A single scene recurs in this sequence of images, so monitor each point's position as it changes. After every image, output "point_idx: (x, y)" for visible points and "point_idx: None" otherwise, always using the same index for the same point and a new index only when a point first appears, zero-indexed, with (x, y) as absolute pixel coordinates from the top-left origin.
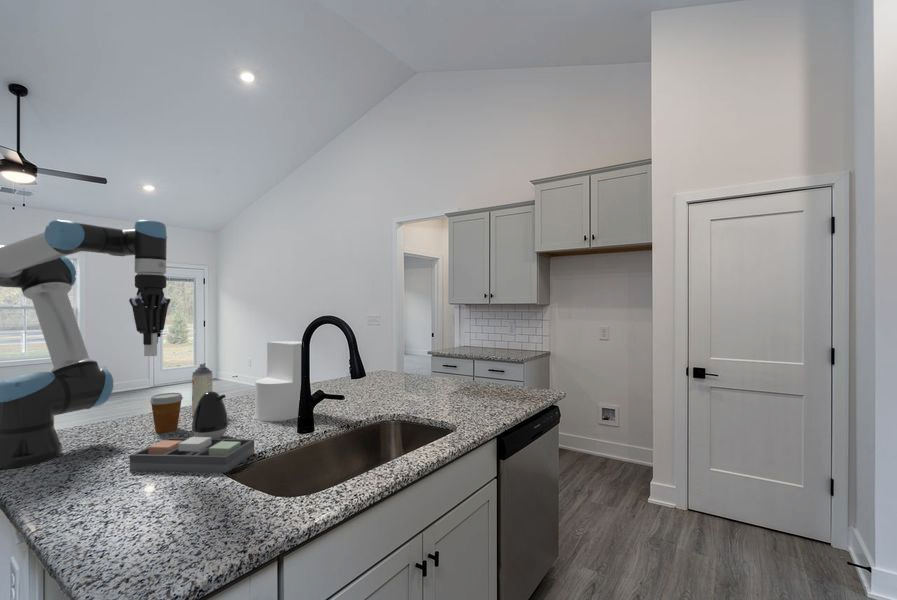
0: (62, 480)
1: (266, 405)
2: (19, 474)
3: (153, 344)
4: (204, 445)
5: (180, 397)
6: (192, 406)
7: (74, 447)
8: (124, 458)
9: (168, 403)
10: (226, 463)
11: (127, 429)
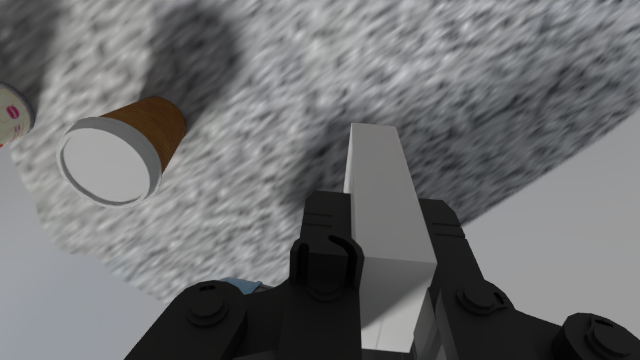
0: (511, 116)
1: None
2: None
3: (404, 177)
4: None
5: (87, 122)
6: (6, 141)
7: None
8: (383, 78)
9: (142, 134)
10: None
11: (175, 217)
